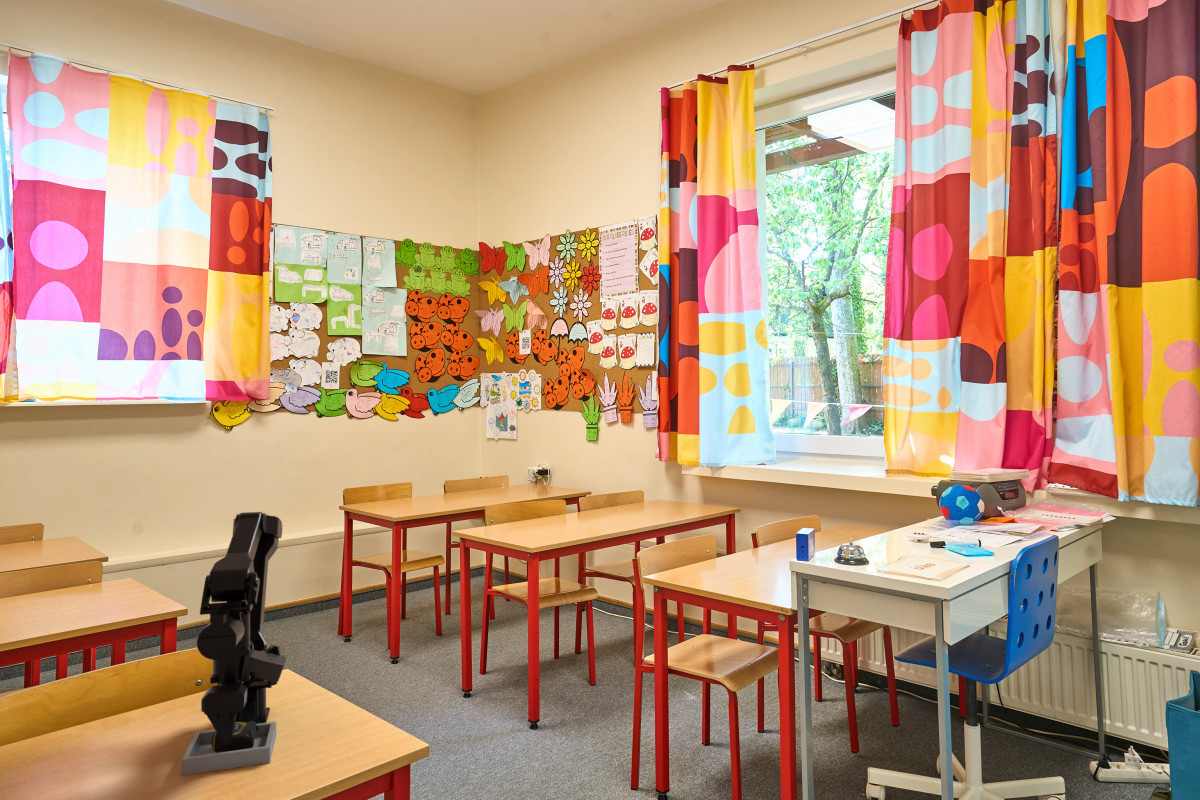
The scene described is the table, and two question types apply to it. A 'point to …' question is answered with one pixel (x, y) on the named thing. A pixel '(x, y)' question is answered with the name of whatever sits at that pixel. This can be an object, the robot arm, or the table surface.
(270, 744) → the tray
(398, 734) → the table surface
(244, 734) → the tape measure
